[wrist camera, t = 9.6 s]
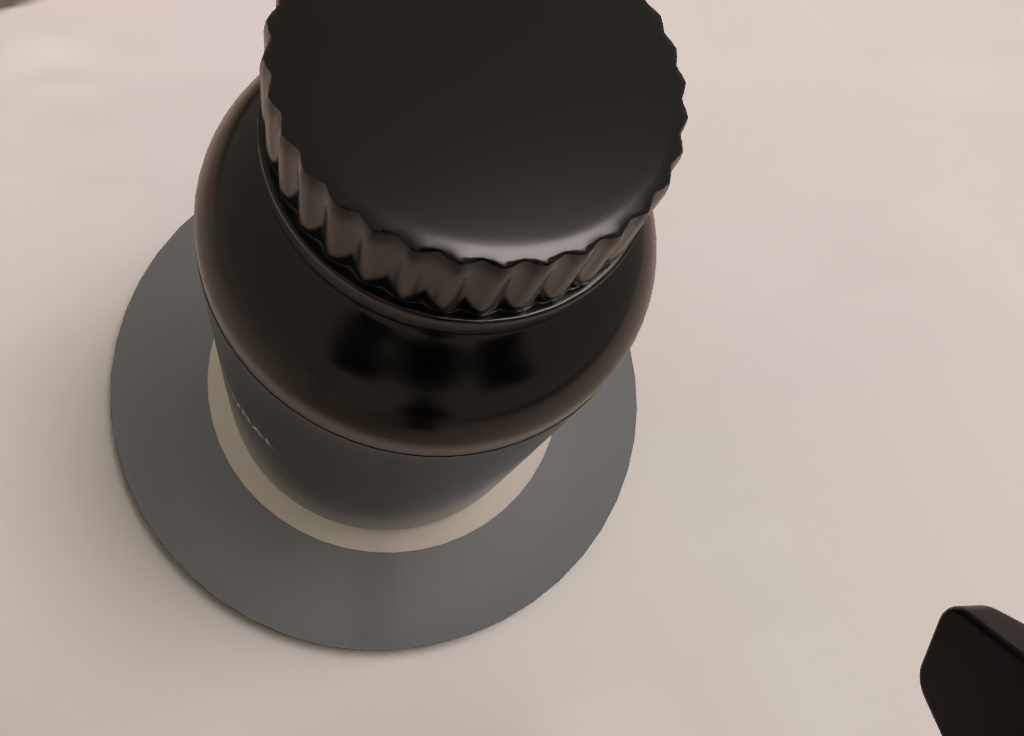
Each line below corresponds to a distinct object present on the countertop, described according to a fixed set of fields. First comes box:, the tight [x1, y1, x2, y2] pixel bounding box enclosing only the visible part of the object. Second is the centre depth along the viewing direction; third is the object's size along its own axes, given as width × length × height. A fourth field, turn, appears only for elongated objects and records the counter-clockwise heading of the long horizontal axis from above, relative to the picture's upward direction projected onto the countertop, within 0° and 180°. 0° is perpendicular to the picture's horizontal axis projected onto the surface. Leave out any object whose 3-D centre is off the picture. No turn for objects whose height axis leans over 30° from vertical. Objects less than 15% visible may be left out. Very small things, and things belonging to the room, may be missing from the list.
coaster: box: [111, 215, 637, 650], centre depth 21 cm, size 12×12×1 cm
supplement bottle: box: [194, 0, 688, 530], centre depth 16 cm, size 7×7×12 cm
